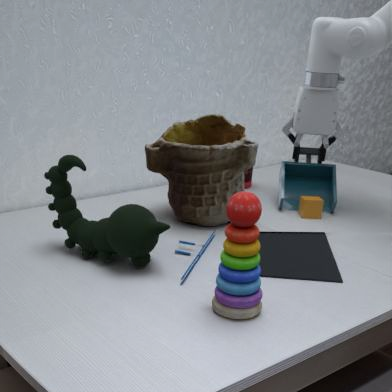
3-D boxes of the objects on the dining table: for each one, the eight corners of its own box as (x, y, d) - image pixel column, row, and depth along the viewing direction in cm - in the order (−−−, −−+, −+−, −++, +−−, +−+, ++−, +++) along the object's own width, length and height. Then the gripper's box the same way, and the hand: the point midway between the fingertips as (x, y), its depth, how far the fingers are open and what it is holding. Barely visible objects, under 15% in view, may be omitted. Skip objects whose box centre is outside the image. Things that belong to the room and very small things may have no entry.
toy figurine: (48, 261, 96) (159, 281, 86) (27, 158, 87) (150, 166, 76) (79, 246, 104) (185, 263, 93) (63, 148, 94) (180, 155, 84)
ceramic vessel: (183, 209, 95) (151, 83, 96) (150, 248, 118) (124, 146, 118) (284, 196, 103) (254, 81, 104) (235, 235, 126) (211, 140, 127)
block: (319, 196, 120) (323, 200, 116) (316, 215, 122) (320, 220, 118) (300, 195, 119) (304, 199, 115) (297, 214, 122) (301, 219, 118)
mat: (319, 220, 119) (319, 218, 119) (342, 282, 91) (343, 281, 90) (243, 214, 120) (243, 213, 120) (243, 275, 91) (243, 273, 91)
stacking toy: (221, 293, 85) (230, 180, 75) (267, 304, 82) (282, 188, 72) (204, 314, 79) (211, 194, 68) (252, 326, 76) (267, 203, 66)
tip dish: (331, 165, 129) (336, 147, 124) (332, 215, 122) (338, 198, 117) (279, 162, 130) (282, 144, 125) (278, 211, 123) (281, 194, 117)
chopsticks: (153, 272, 87) (182, 277, 86) (191, 225, 107) (215, 229, 107) (153, 279, 88) (181, 285, 87) (191, 232, 108) (214, 236, 107)
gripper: (355, 81, 118) (339, 162, 128) (282, 77, 119) (272, 157, 129) (361, 85, 112) (344, 169, 122) (284, 80, 113) (274, 164, 123)
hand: (307, 162), depth 125 cm, fingers closed on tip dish, 5 cm apart
